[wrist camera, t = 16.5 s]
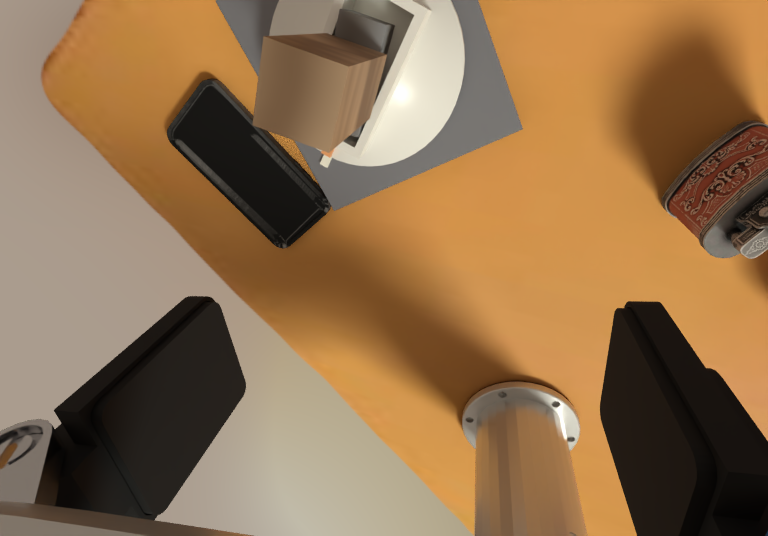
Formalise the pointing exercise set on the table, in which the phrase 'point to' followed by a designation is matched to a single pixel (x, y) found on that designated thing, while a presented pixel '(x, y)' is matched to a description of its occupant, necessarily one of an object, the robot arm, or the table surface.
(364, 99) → the tan block
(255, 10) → the dial plate
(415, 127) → the dial
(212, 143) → the phone
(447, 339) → the table surface
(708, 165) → the lighter
